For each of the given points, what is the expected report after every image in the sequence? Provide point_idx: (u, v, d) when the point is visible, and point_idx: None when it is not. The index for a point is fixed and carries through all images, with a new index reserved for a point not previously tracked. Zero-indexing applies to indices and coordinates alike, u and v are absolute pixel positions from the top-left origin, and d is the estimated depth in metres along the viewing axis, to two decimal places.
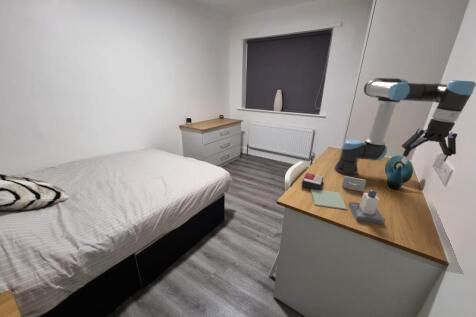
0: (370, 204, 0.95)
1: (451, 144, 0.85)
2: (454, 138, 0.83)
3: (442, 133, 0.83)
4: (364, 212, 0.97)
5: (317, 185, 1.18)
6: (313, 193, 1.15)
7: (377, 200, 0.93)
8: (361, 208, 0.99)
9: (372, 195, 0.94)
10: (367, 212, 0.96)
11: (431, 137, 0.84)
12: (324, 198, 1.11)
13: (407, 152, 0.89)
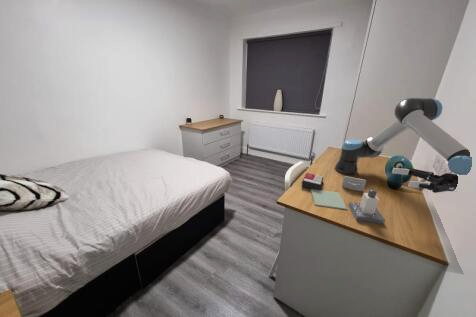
0: (370, 204, 0.95)
1: None
2: None
3: None
4: (364, 212, 0.97)
5: (317, 185, 1.18)
6: (313, 193, 1.15)
7: (377, 200, 0.93)
8: (361, 208, 0.99)
9: (372, 195, 0.94)
10: (367, 212, 0.96)
11: None
12: (324, 198, 1.11)
13: None
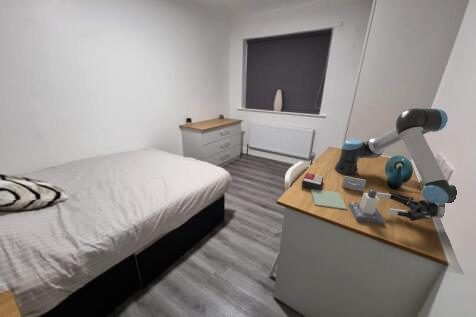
0: (370, 204, 0.95)
1: None
2: None
3: None
4: (364, 212, 0.97)
5: (317, 185, 1.18)
6: (313, 193, 1.15)
7: (377, 200, 0.93)
8: (361, 208, 0.99)
9: (372, 195, 0.94)
10: (367, 212, 0.96)
11: None
12: (324, 198, 1.11)
13: None
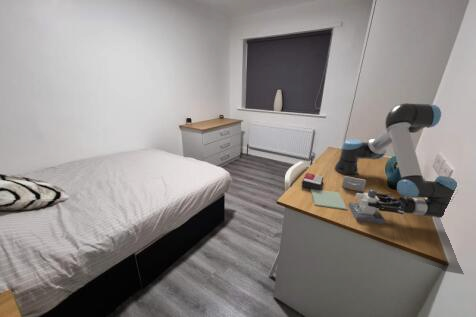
0: None
1: None
2: None
3: None
4: (364, 212, 0.97)
5: (317, 185, 1.18)
6: (313, 193, 1.15)
7: (377, 200, 0.93)
8: (361, 208, 0.99)
9: (372, 195, 0.94)
10: (367, 212, 0.96)
11: None
12: (324, 198, 1.11)
13: None
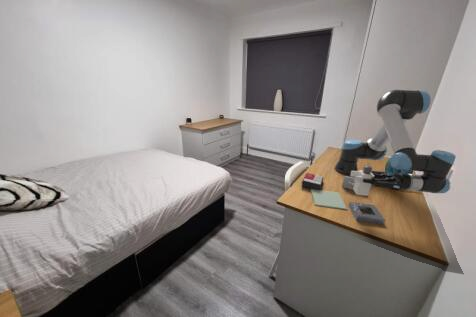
0: None
1: None
2: None
3: None
4: (359, 189, 0.94)
5: (317, 185, 1.18)
6: (313, 193, 1.15)
7: (372, 176, 0.91)
8: (356, 186, 0.97)
9: (367, 171, 0.92)
10: (362, 189, 0.94)
11: None
12: (324, 198, 1.11)
13: None
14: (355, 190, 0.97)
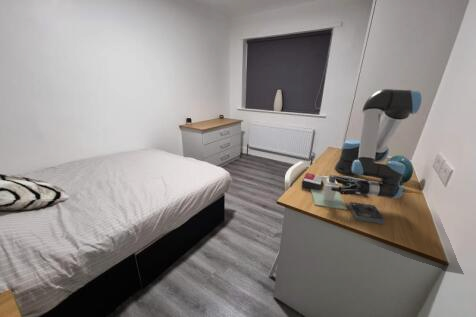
0: None
1: None
2: None
3: None
4: (326, 195, 1.08)
5: (317, 185, 1.18)
6: (313, 193, 1.15)
7: (336, 184, 1.05)
8: (324, 192, 1.10)
9: (332, 180, 1.05)
10: (328, 195, 1.08)
11: None
12: None
13: None
14: (323, 196, 1.11)
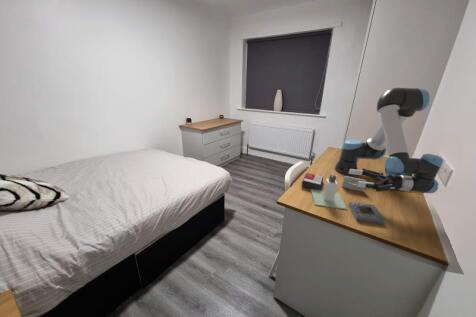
0: (330, 188, 1.06)
1: None
2: None
3: None
4: (326, 195, 1.08)
5: (317, 185, 1.18)
6: (313, 193, 1.15)
7: (336, 184, 1.05)
8: (324, 192, 1.10)
9: (332, 180, 1.05)
10: (328, 195, 1.08)
11: None
12: None
13: None
14: (323, 196, 1.11)
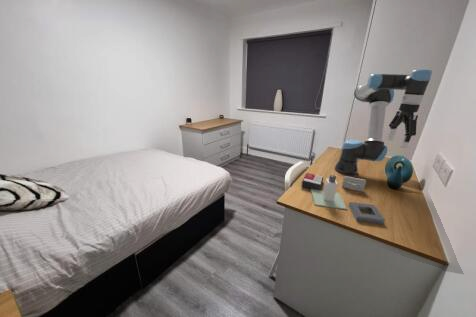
0: (330, 188, 1.06)
1: None
2: (410, 119, 0.95)
3: (405, 114, 0.99)
4: (326, 195, 1.08)
5: (317, 185, 1.18)
6: (313, 193, 1.15)
7: (336, 184, 1.05)
8: (324, 192, 1.10)
9: (332, 180, 1.05)
10: (328, 195, 1.08)
11: (399, 117, 1.04)
12: None
13: None
14: (323, 196, 1.11)
